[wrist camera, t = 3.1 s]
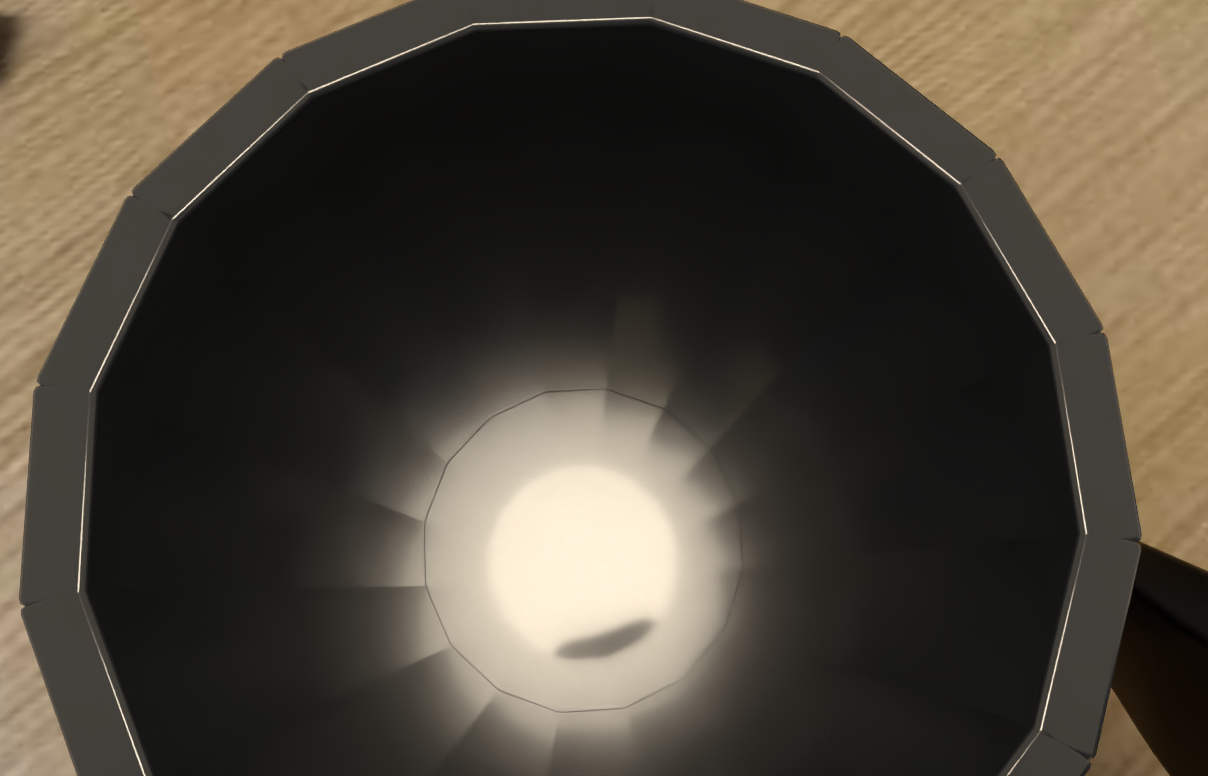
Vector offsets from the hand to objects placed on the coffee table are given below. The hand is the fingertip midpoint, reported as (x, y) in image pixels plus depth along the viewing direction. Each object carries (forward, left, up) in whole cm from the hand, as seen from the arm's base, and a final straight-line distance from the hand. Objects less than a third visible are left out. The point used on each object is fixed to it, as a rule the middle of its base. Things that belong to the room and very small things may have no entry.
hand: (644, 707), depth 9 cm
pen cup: (+2, 0, -9) cm, 9 cm away
